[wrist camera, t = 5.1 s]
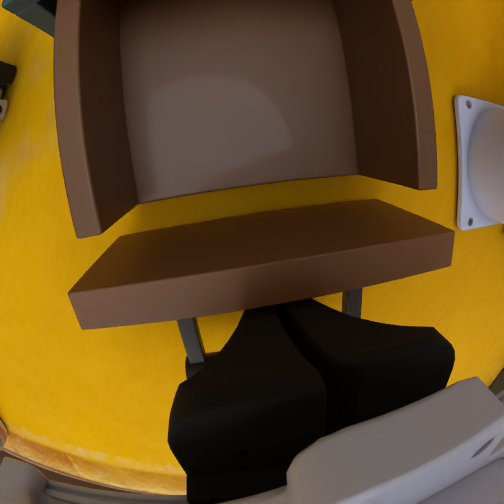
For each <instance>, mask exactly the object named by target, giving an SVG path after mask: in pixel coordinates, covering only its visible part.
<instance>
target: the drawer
mask: <svg viewBox="0 0 504 504" xmlns="http://www.w3.org/2000/svg"><path fill="white" fill-rule="evenodd" d="M54 100H55V114H56V126H57V135H58V144H59V151H60V158H61V165H62V171H63V177H64V183H65V188H66V193H67V198H68V203H69V208H70V212H71V216H72V221H73V225H74V229H75V233H76V237H77V238H80V239H81V238H85V237H90V236H95V235H100V234H102V233H103V232H104V231H106V230H107V229H108V228H109V227H110V226H112V225H113V224H114V223H115V222H117V221H118V220H119V219H120V218H121V217H123V216H124V215H125V214H126V213H128V212H129V211H130V210H132V209H133V208H134V207H135V206H137V205H138V204H143V203H148V202H153V201H159V200H164V199H169V198H175V197H181V196H187V195H193V194H199V193H205V192H211V191H218V190H225V189H231V188H238V187H246V186H253V185H261V184H269V183H277V182H286V181H294V180H304V179H314V178H324V177H335V176H348V175H362V176H366V177H370V178H375V179H379V180H383V181H387V182H391V183H394V184H398V185H402V186H406V187H409V188H413V189H417V190H430V189H436V188H437V149H436V132H435V121H434V111H433V102H432V94H431V87H430V81H429V75H428V69H427V63H426V58H425V53H424V49H423V44H422V40H421V35H420V31H419V27H418V24H417V20H416V16H415V13H414V9H413V6H412V3H411V0H57V8H56V18H55V32H54ZM454 234H455V232H454V231H453V230H451V229H449V228H446V227H444V226H442V225H440V224H437V223H435V222H433V221H430V220H428V219H425V218H423V217H421V216H418V215H416V214H413V213H411V212H408V211H406V210H403V209H401V208H398V207H396V206H393V205H391V204H388V203H385V202H383V201H380V200H377V199H372V200H363V201H354V202H345V203H336V204H328V205H319V206H311V207H303V208H296V209H288V210H280V211H273V212H266V213H259V214H252V215H245V216H238V217H231V218H225V219H218V220H212V221H205V222H199V223H193V224H187V225H181V226H175V227H169V228H163V229H157V230H152V231H146V232H140V233H135V234H129V235H124V236H120V237H119V238H118V239H117V240H116V241H115V242H114V243H113V244H112V245H111V246H110V247H109V248H108V249H107V250H106V251H105V252H104V253H103V254H102V255H101V256H100V257H99V258H98V260H97V261H96V262H95V263H94V264H93V265H92V266H91V267H90V268H89V269H88V270H87V272H86V273H85V274H84V275H83V276H82V277H81V278H80V279H79V281H78V282H77V283H76V284H75V285H74V286H73V287H72V289H71V290H70V291H69V292H68V296H69V298H70V301H71V304H72V306H73V309H74V311H75V314H76V316H77V319H78V321H79V324H80V326H81V328H82V329H83V330H84V329H96V328H107V327H118V326H127V325H137V324H146V323H154V322H163V321H171V320H177V323H178V326H179V330H180V333H181V337H182V340H183V343H184V346H185V350H186V353H187V357H186V360H185V369H186V377H187V379H188V378H190V377H191V376H193V375H194V374H195V373H197V372H198V371H200V370H201V369H202V368H203V367H205V366H206V365H207V364H208V363H209V362H210V361H211V360H212V359H213V358H214V357H215V356H216V355H217V354H218V353H219V352H220V351H219V352H212V353H205V350H204V346H203V342H202V338H201V335H200V331H199V327H198V323H197V319H196V317H201V316H208V315H215V314H221V313H228V312H234V311H241V310H247V309H253V308H259V307H265V306H270V305H276V304H282V303H287V302H293V301H298V300H303V299H309V298H314V297H319V296H324V295H329V294H334V293H339V292H343V294H342V313H345V314H348V315H351V316H354V317H357V318H361V304H362V287H366V286H371V285H375V284H380V283H384V282H388V281H393V280H397V279H401V278H405V277H409V276H413V275H417V274H421V273H425V272H429V271H433V270H437V269H440V268H444V267H448V266H451V261H452V253H453V244H454Z"/></svg>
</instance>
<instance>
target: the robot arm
mask: <svg viewBox="0 0 504 504" xmlns="http://www.w3.org/2000/svg"><path fill="white" fill-rule="evenodd" d="M466 103H467V105H466ZM454 106H455V115H456V126H457V140H458V210H457V226H458V228H459V229H461V230H470V229H475V228H480V227H485V226H490V225H496V224H501V223H502V224H504V106H502V105H498V104H495V103H492V102H488V101H484V100H481V99H477V98H473V97H469V96H465V95H456V96H455V98H454ZM468 220H469V222H468ZM454 361H455V350H454V348H453V346H452V344H451V343H450V342H449V341H448V340H447V339H445V338H444V337H443V336H442V335H441V334H440V333H439V332H438V331H437V330H436V329H435V328H434V327H417V326H399V325H391V324H384V323H379V322H374V321H369V320H365V319H361V318H357V317H354V316H351V315H348V314H345V313H342V312H340V311H337V310H335V309H332V308H330V307H328V306H326V305H324V304H322V303H320V302H318V301H316V300H314V299H312V298H309V299H303V300H298V301H293V302H287V303H282V304H276V305H270V306H265V307H259V308H253V309H247V310H244V312H243V315H242V317H241V319H240V321H239V324H238V326H237V327H236V329H235V331H234V333H233V334H232V336H231V337H230V339H229V340H228V342H227V343H226V344H225V346H224V347H223V348H222V350H221V351H220V352H219V353H218V354H217V355H216V356H215V357H214V358H213V359H212V360H211V361H210V362H209V363H208V364H207V365H206V366H205V367H203V368H202V369H201V370H200V371H198V372H197V373H195V374H194V375H193V376H191V377H190V378H188V379H187V380H185V381H184V382H182V383H181V384H179V386H178V389H177V392H176V395H175V398H174V401H173V405H172V408H171V412H170V418H169V429H168V444H169V446H170V449H171V451H172V453H173V454H174V456H175V457H176V459H177V460H178V462H179V464H180V465H181V467H182V468H183V470H184V471H185V473H186V474H187V495H147V494H132V493H121V492H113V491H105V490H97V489H91V488H85V487H79V486H75V485H69V484H65V483H61V482H56V481H52V480H48V479H47V478H46V477H45V476H44V475H43V473H42V472H40V471H39V470H38V469H37V468H35V467H34V466H32V465H30V464H28V463H25V462H22V461H18V460H15V459H12V458H9V457H4V459H3V462H2V464H1V466H0V504H504V390H503V391H501V392H500V393H499V394H497V395H496V396H495V395H494V394H493V393H492V392H491V391H490V389H489V388H488V387H487V386H486V385H485V384H484V383H483V382H482V381H481V380H480V379H479V378H478V377H472V378H468V379H465V380H462V381H458V382H456V383H454V384H452V385H450V386H448V387H446V385H447V382H448V380H449V377H450V374H451V372H452V369H453V365H454ZM445 387H446V388H445Z"/></svg>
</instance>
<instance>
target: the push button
mask: <svg viewBox="0 0 504 504" xmlns="http://www.w3.org/2000/svg"><path fill="white" fill-rule="evenodd" d="M16 70H17V69H16V66H14V65H11V64H8V63H5V62H2V61H0V108H1V106H2V111H1V113H0V121H2V120H3V119H4V116H5V112H6V109H7V105H8V102H7V100H3V97H4V94H5V91H6V88H7V85H8V84H11V83H12V81H13V80H14V77H15V74H16Z"/></svg>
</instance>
